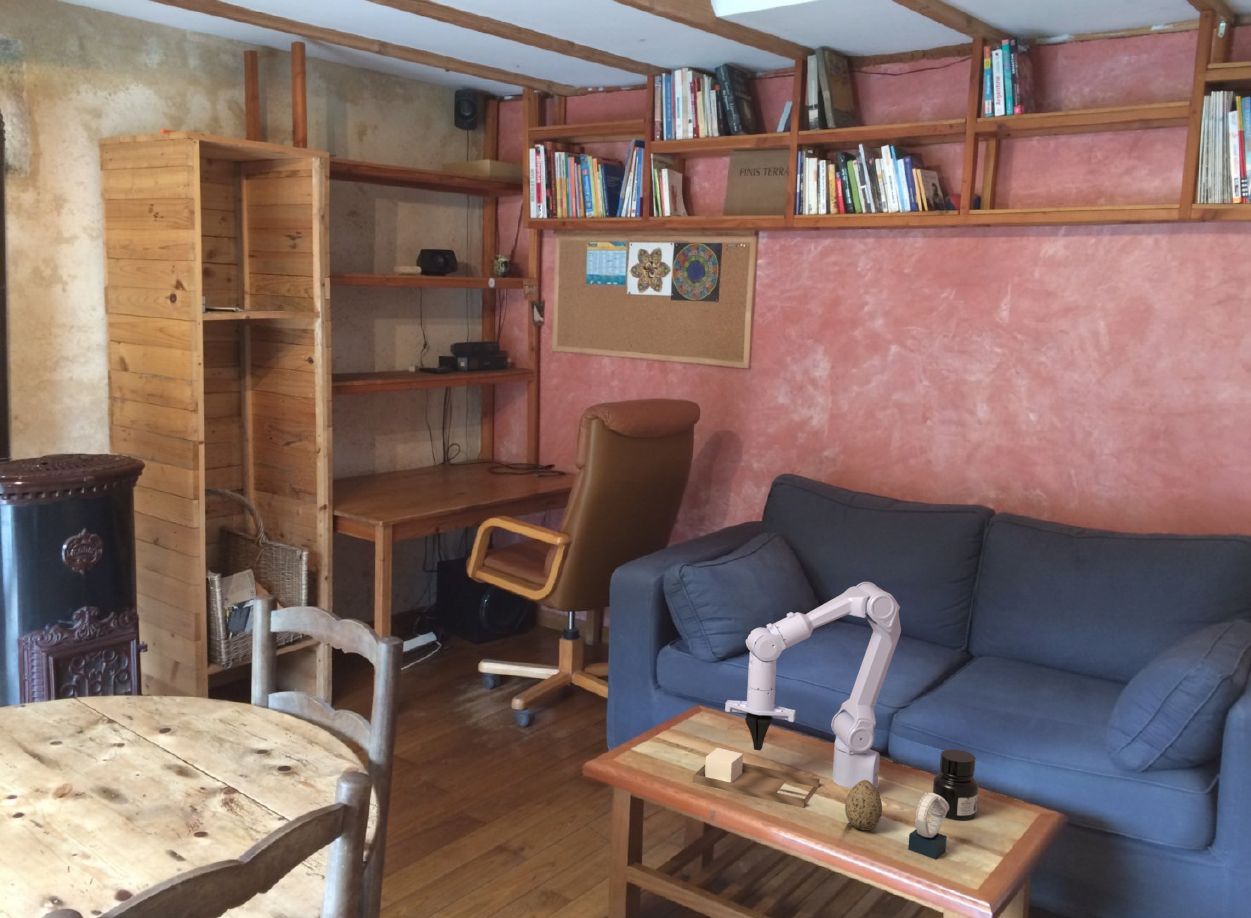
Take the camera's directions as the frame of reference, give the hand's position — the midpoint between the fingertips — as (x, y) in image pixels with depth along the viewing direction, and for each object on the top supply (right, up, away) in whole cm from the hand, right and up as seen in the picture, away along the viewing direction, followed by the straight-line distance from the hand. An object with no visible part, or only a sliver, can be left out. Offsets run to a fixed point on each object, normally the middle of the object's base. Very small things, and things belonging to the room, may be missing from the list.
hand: (758, 748), depth 231 cm
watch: (+29, -14, -22) cm, 39 cm away
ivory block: (-7, -7, +5) cm, 11 cm away
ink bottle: (+40, -12, -5) cm, 42 cm away
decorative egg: (+19, -12, -14) cm, 27 cm away
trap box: (0, -9, +1) cm, 9 cm away
